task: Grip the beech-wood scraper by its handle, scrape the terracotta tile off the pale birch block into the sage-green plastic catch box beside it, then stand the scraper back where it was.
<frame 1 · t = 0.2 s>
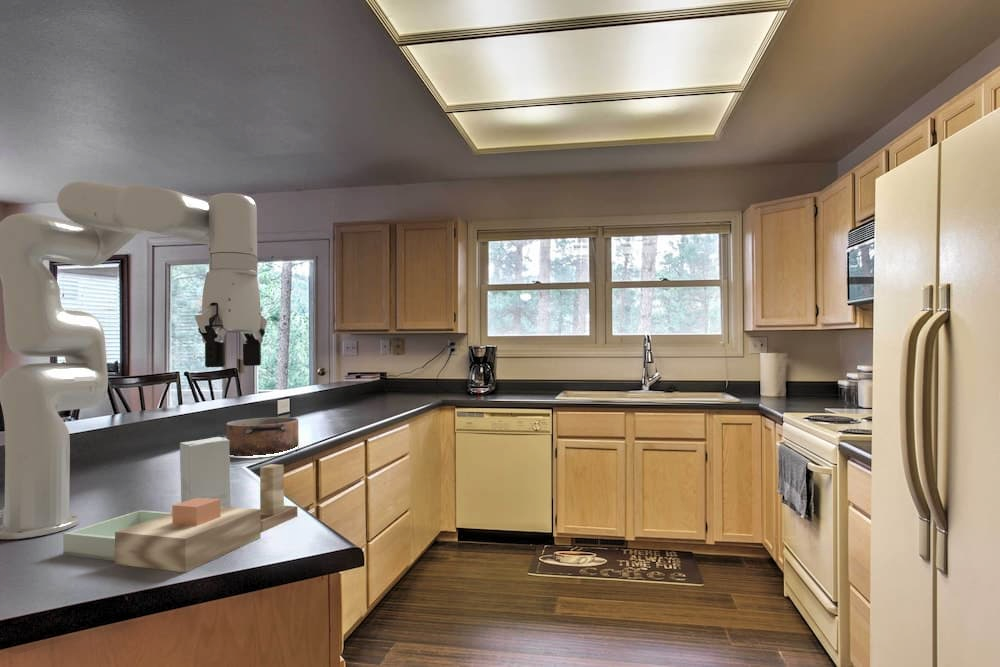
hand: (234, 366, 95), 31 cm above the counter, fingers open, 9 cm apart
skincare box: (205, 511, 116), on the counter
birch block: (192, 550, 92), on the counter
scraper: (272, 523, 107), on the counter
cooking pot: (263, 453, 186), on the counter
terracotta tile: (196, 520, 92), point 5 cm above the counter, touching birch block
catch box: (130, 543, 96), on the counter
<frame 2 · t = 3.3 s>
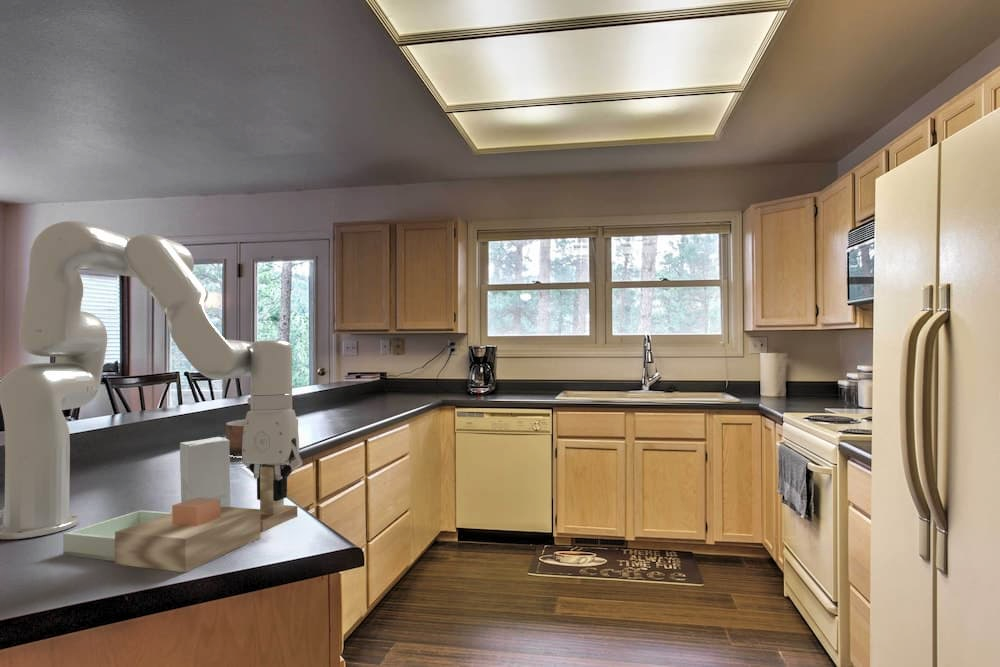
hand: (272, 497, 107), 5 cm above the counter, fingers closed on scraper, 3 cm apart
scraper: (272, 522, 107), on the counter, touching gripper
everything else where it was.
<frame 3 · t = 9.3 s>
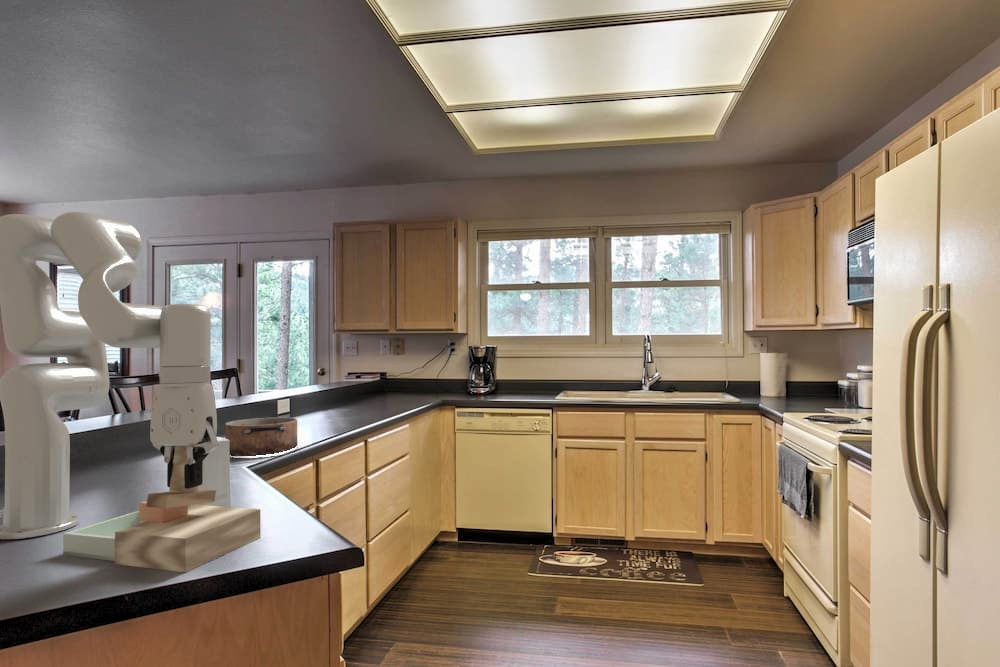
hand: (185, 485, 93), 11 cm above the counter, fingers closed on scraper, 2 cm apart
scraper: (181, 504, 92), point 8 cm above the counter, tilted 9°, touching gripper, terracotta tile
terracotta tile: (164, 517, 94), point 5 cm above the counter, touching scraper
everything else where it was.
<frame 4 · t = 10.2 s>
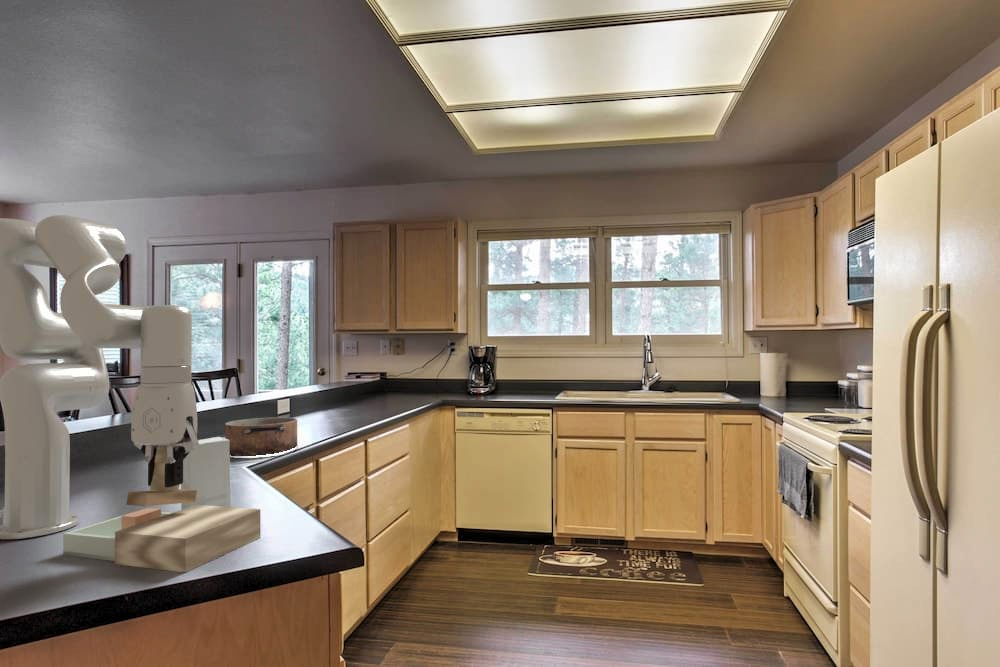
hand: (165, 483, 94), 11 cm above the counter, fingers closed on scraper, 2 cm apart
scraper: (162, 503, 94), point 8 cm above the counter, tilted 11°, touching gripper
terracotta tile: (148, 527, 95), point 3 cm above the counter, tilted 90°, touching catch box
everything else where it was.
when the fingers open (6 cm above the counter, at t = 16.0 s): scraper drops 3 cm, on the counter.
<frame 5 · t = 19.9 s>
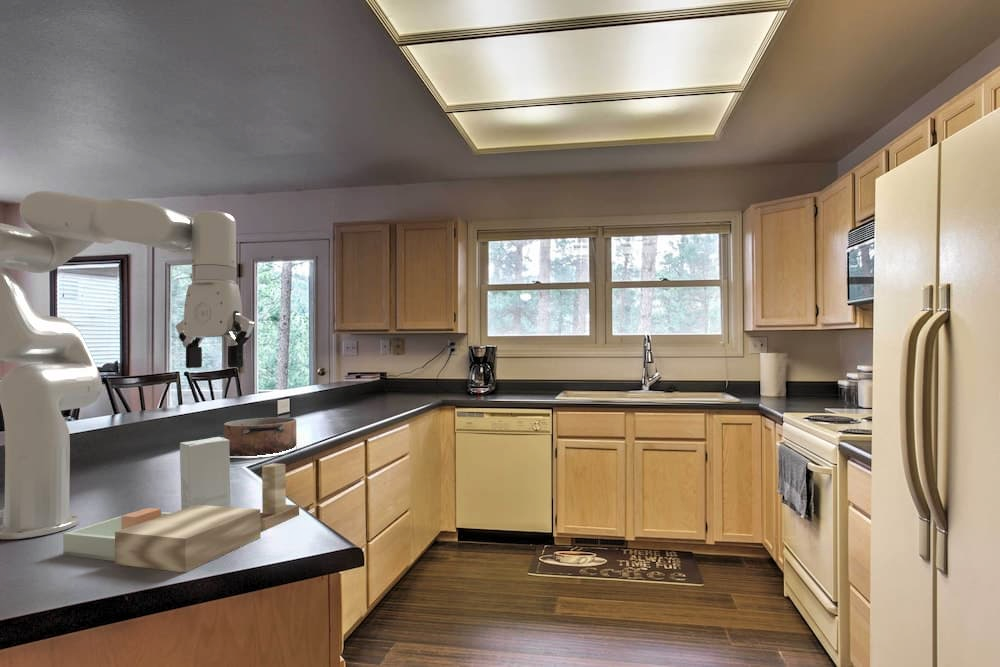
hand: (214, 367, 105), 30 cm above the counter, fingers open, 9 cm apart
scraper: (274, 522, 108), on the counter
everything else where it was.
at the end: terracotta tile inside the target area on the catch box (4.2 cm from its centre), point 3.1 cm above the catch box's base; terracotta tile touching catch box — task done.
